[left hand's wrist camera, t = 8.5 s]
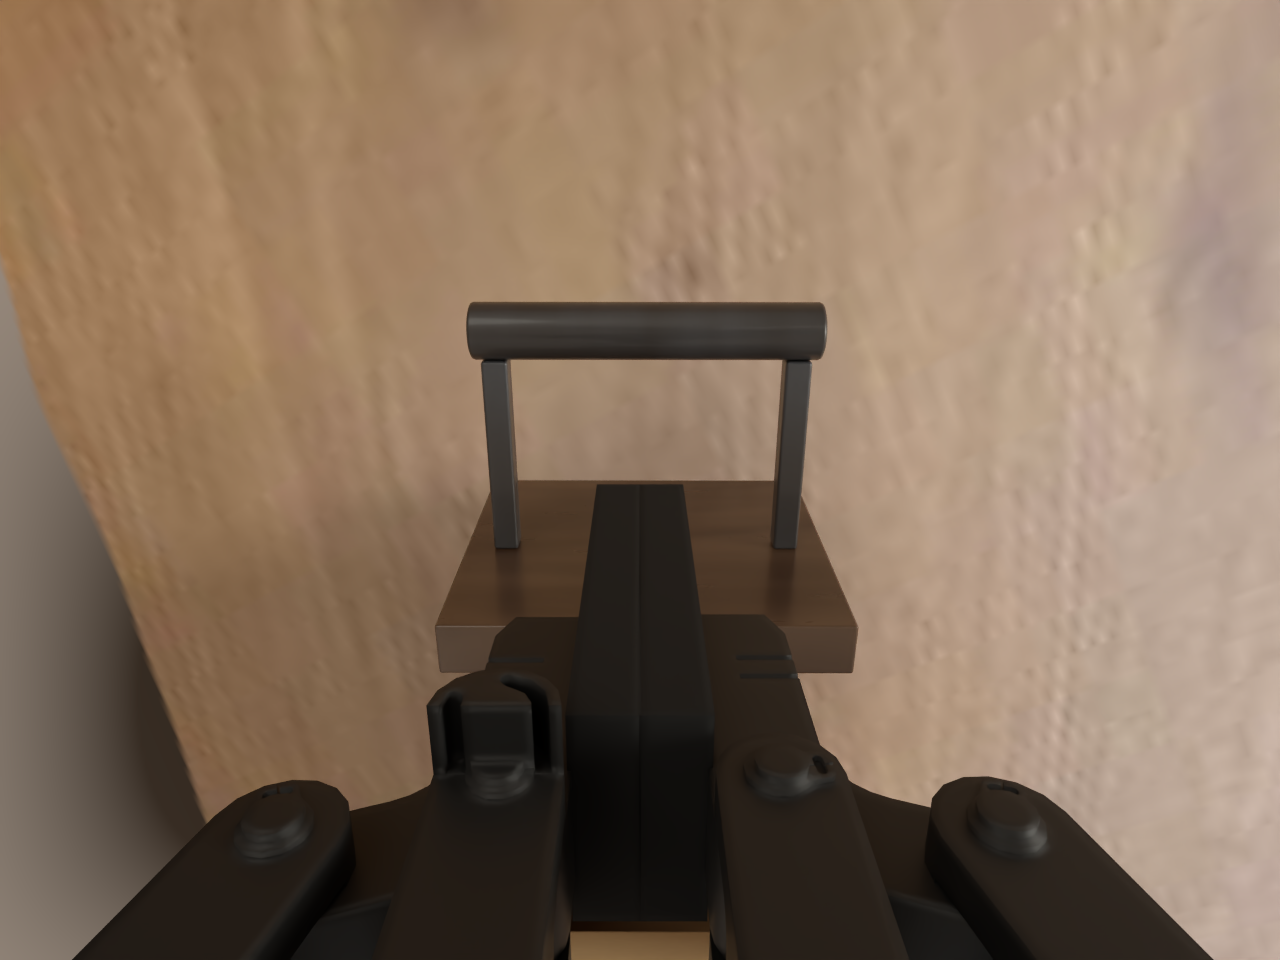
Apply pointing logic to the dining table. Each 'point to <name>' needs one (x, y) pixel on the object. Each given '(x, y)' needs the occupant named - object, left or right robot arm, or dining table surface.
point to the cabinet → (639, 945)
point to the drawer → (717, 510)
